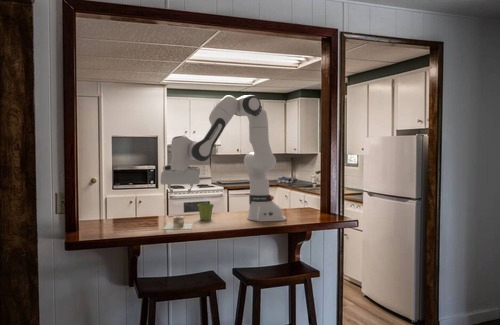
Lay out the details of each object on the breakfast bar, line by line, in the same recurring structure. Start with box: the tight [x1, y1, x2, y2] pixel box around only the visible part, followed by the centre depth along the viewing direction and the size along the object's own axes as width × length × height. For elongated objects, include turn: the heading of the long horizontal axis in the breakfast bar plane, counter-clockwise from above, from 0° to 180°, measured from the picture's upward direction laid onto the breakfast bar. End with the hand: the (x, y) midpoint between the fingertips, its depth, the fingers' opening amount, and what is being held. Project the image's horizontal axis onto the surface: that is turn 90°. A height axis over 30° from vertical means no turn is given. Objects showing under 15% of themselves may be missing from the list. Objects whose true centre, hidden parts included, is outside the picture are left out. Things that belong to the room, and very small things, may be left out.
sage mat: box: [163, 223, 194, 230], centre depth 222 cm, size 14×14×1 cm
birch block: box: [172, 215, 185, 227], centre depth 222 cm, size 5×5×5 cm
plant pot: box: [197, 203, 214, 221], centre depth 244 cm, size 9×9×9 cm
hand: (180, 192), depth 223 cm, fingers open, 8 cm apart
